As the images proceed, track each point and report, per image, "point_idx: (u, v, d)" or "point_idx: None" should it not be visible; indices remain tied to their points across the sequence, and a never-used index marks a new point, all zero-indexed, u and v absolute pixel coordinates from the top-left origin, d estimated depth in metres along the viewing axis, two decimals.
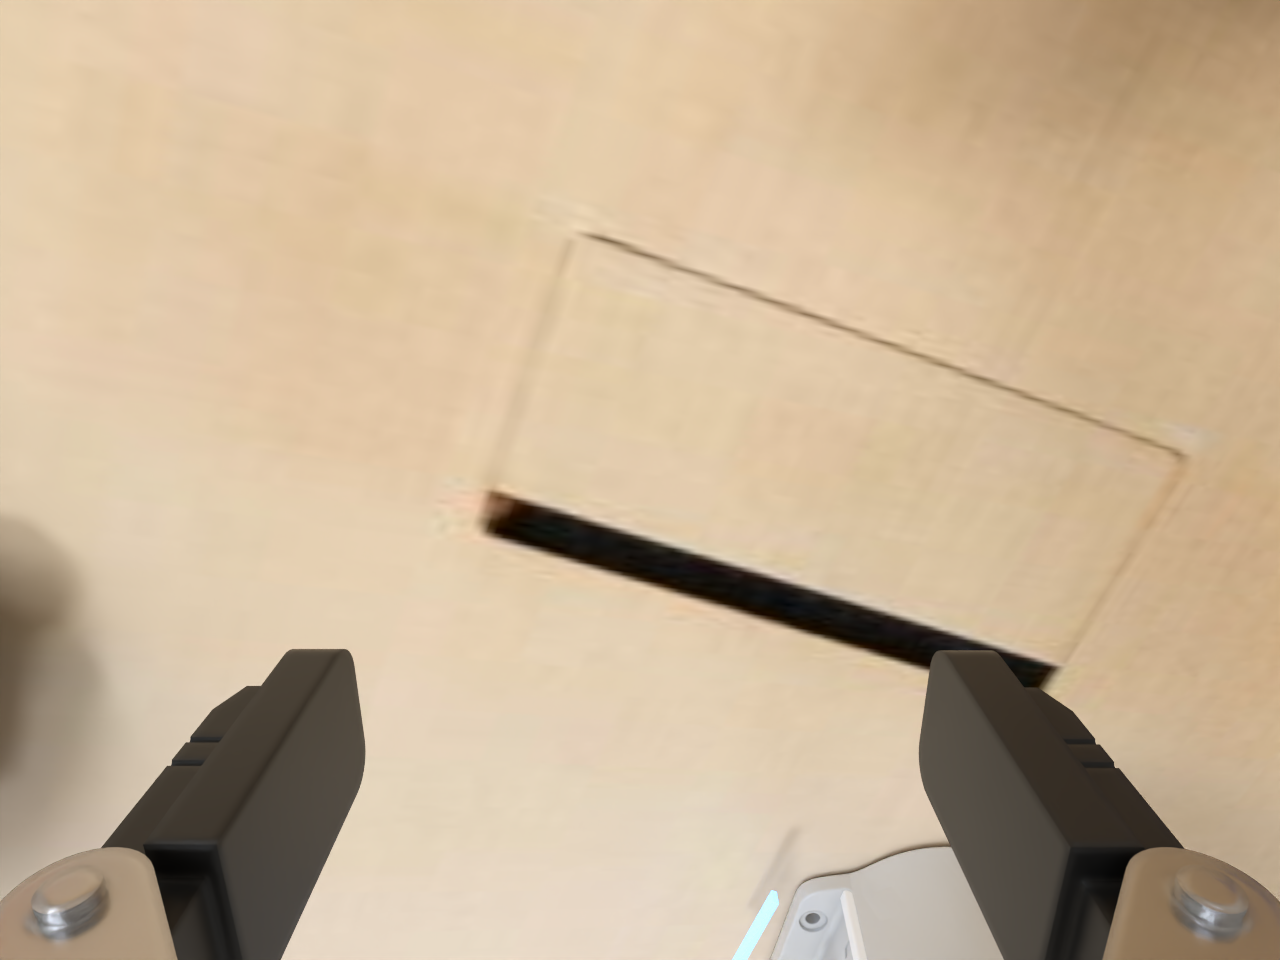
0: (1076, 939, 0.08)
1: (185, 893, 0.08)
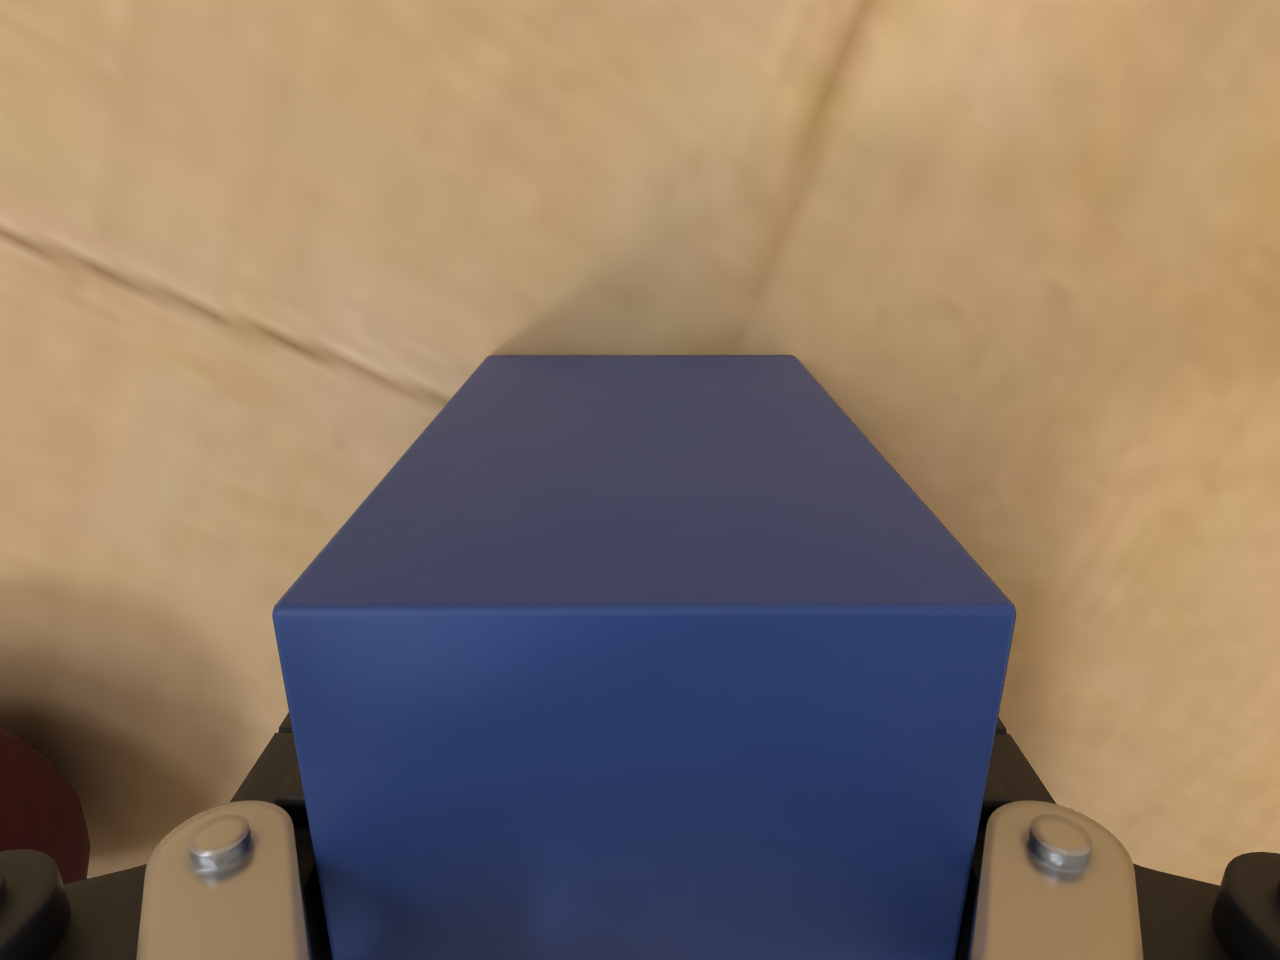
0: None
1: None
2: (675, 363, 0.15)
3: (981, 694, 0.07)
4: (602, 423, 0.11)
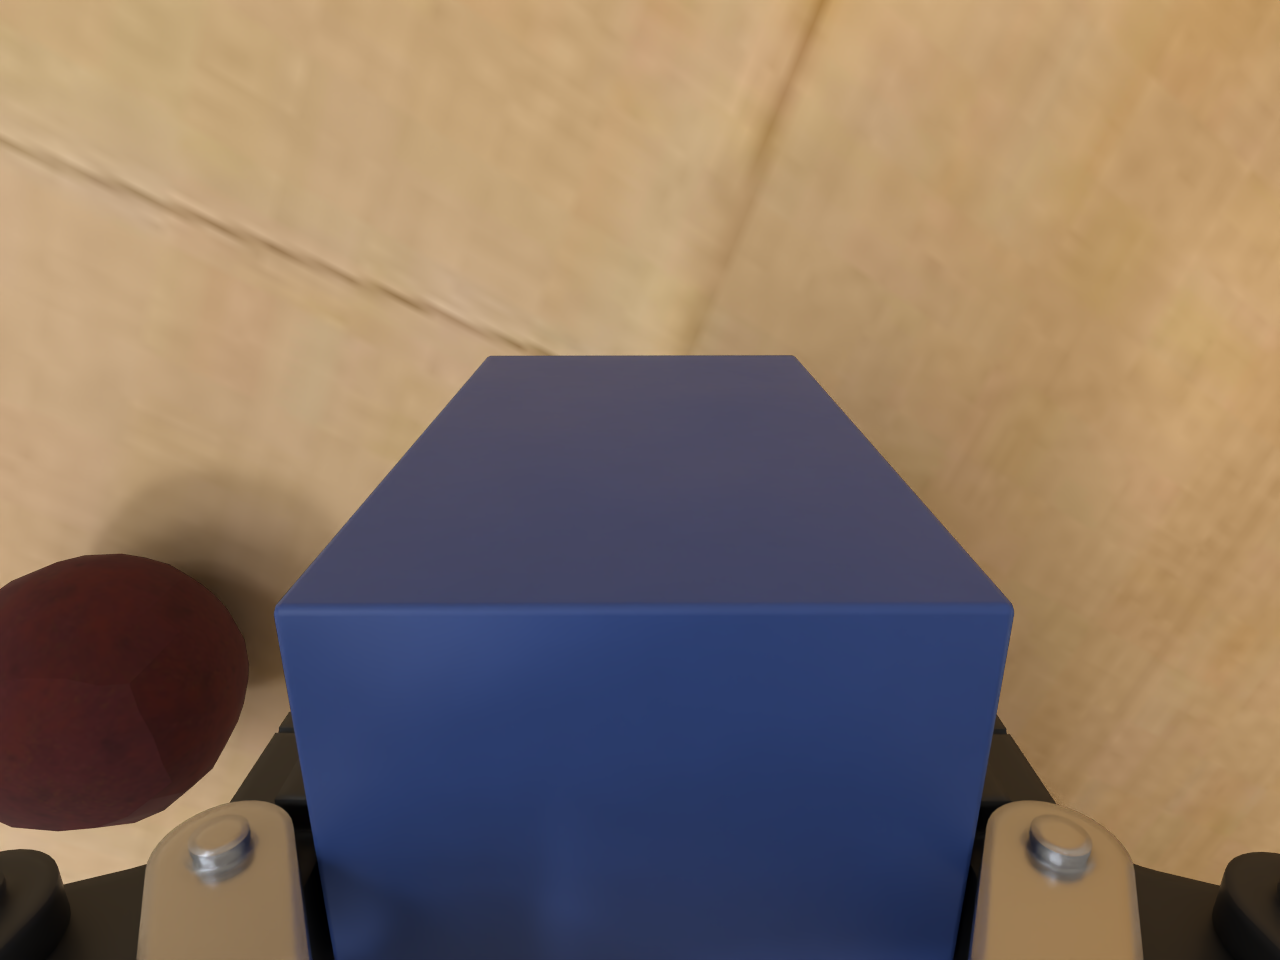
0: None
1: (314, 845, 0.08)
2: (675, 363, 0.15)
3: (980, 692, 0.07)
4: (603, 422, 0.11)
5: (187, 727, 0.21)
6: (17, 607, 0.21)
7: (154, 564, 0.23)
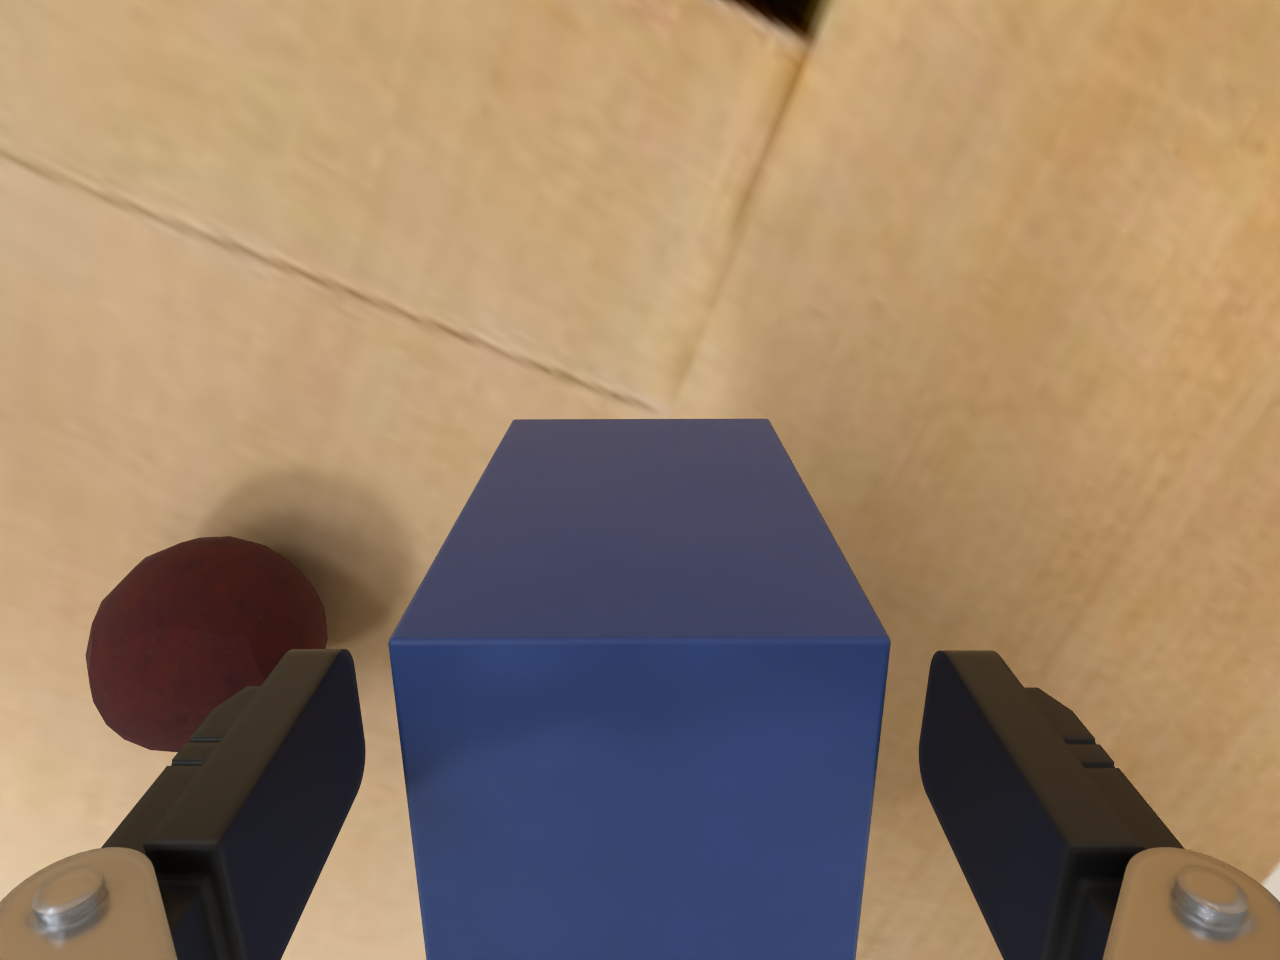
0: (1077, 940, 0.08)
1: (185, 893, 0.08)
2: (668, 427, 0.18)
3: (869, 698, 0.10)
4: (609, 487, 0.15)
5: None
6: (158, 576, 0.26)
7: (255, 544, 0.29)
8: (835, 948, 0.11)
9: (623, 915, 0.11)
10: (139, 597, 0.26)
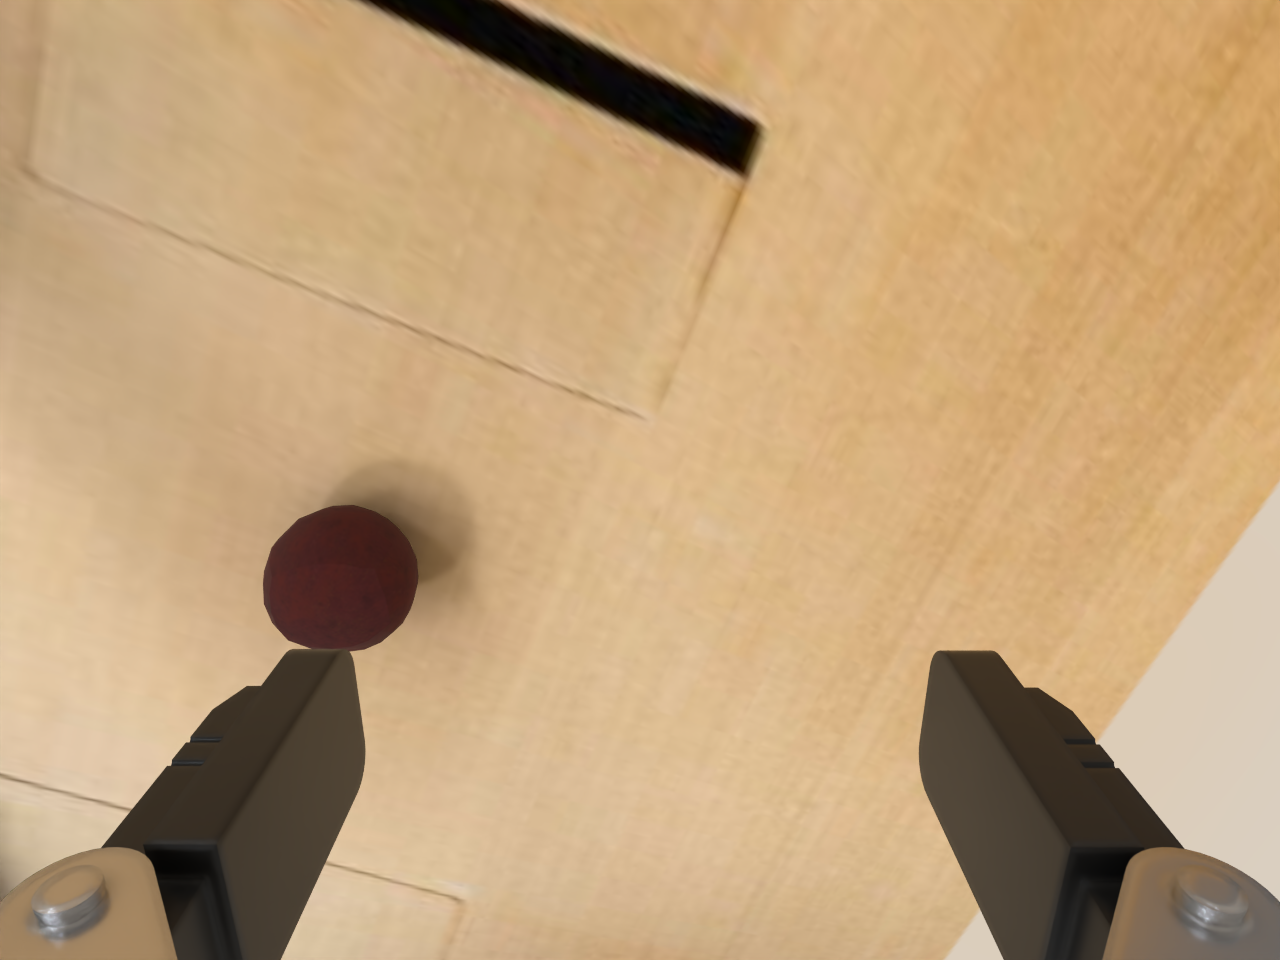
0: (1077, 939, 0.08)
1: (185, 893, 0.08)
2: None
3: None
4: None
5: (399, 594, 0.41)
6: (314, 529, 0.40)
7: None
8: None
9: None
10: (303, 543, 0.39)
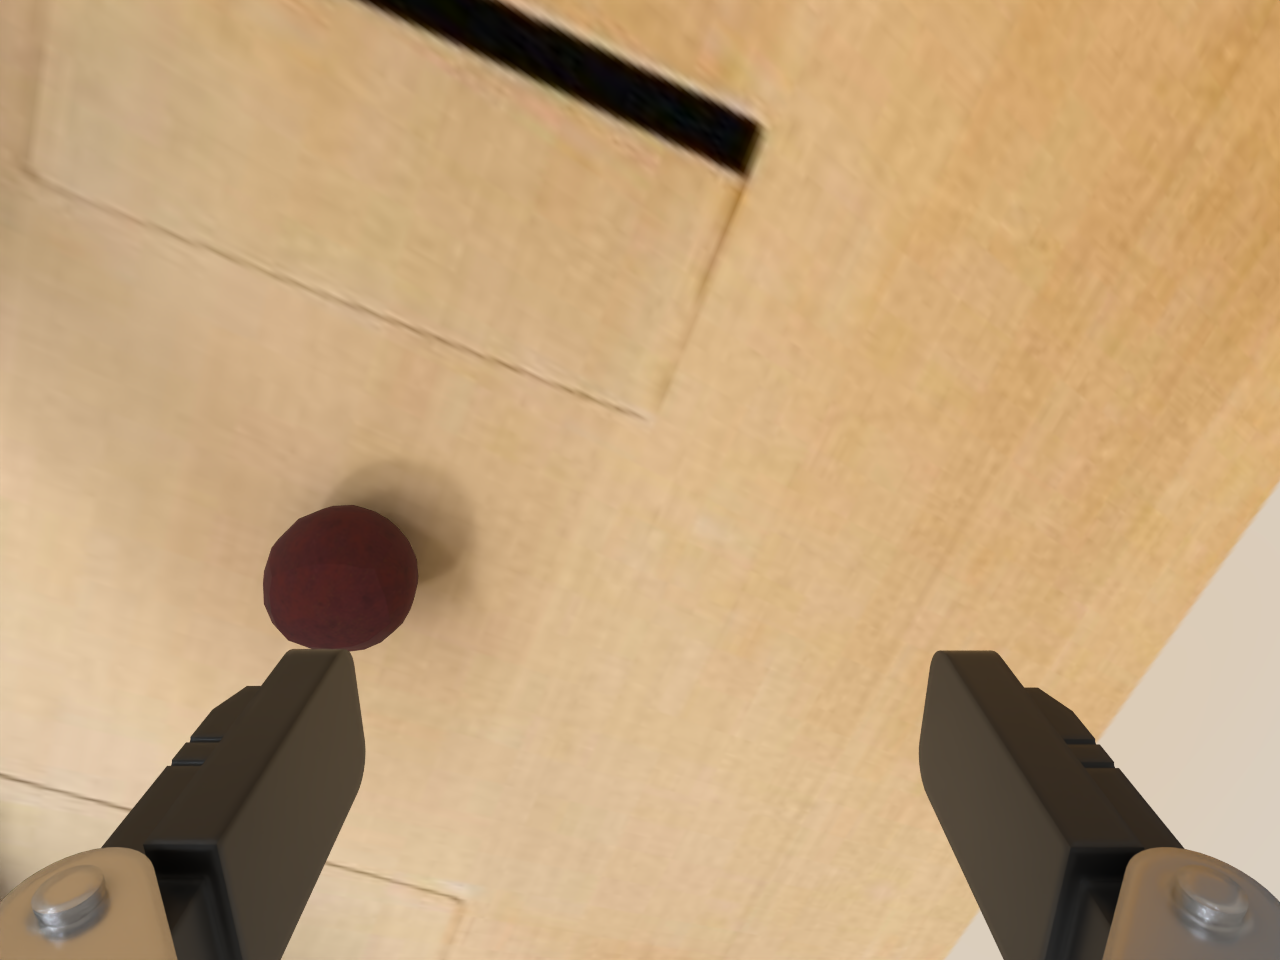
0: (1077, 939, 0.08)
1: (185, 893, 0.08)
2: None
3: None
4: None
5: (399, 594, 0.41)
6: (314, 529, 0.40)
7: None
8: None
9: None
10: (303, 543, 0.39)
